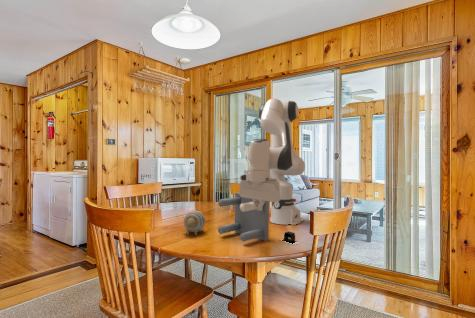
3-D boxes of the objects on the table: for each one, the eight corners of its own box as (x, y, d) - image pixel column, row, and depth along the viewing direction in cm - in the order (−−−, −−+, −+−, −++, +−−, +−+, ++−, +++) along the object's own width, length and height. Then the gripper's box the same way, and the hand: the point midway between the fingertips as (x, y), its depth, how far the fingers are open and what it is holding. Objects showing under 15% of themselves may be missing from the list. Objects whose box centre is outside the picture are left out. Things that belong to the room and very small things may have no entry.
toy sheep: (179, 237, 129) (179, 213, 129) (189, 227, 145) (189, 207, 145) (201, 238, 128) (201, 214, 128) (208, 228, 145) (208, 207, 144)
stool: (238, 230, 141) (238, 192, 141) (268, 239, 127) (269, 197, 127) (216, 236, 131) (217, 195, 131) (247, 246, 117) (247, 200, 116)
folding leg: (256, 208, 127) (256, 199, 127) (262, 210, 124) (262, 200, 124) (239, 211, 119) (239, 202, 119) (245, 213, 117) (245, 203, 117)
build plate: (274, 240, 127) (274, 231, 127) (284, 237, 132) (284, 228, 132) (295, 247, 118) (296, 237, 118) (305, 244, 123) (305, 234, 123)
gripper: (284, 178, 108) (283, 213, 108) (246, 175, 123) (246, 206, 123) (274, 179, 104) (273, 215, 104) (237, 176, 118) (236, 207, 118)
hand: (258, 210), depth 113 cm, fingers closed
